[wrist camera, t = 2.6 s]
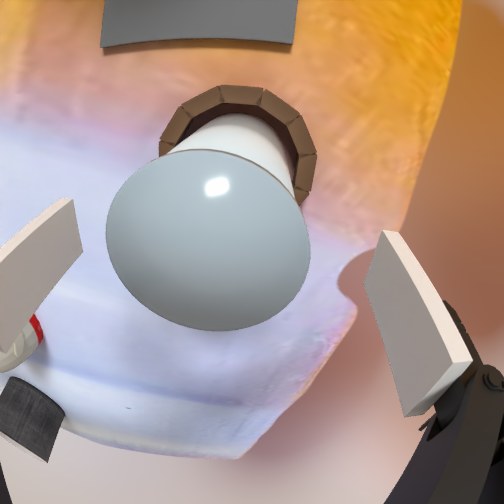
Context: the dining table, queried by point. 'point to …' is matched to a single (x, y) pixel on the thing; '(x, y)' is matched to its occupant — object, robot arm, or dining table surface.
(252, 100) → the brown segmented ring
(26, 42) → the dining table surface
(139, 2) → the mat
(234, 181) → the white cylindrical canister
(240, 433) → the dining table surface
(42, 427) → the planter
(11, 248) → the robot arm
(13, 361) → the white chicken figure
